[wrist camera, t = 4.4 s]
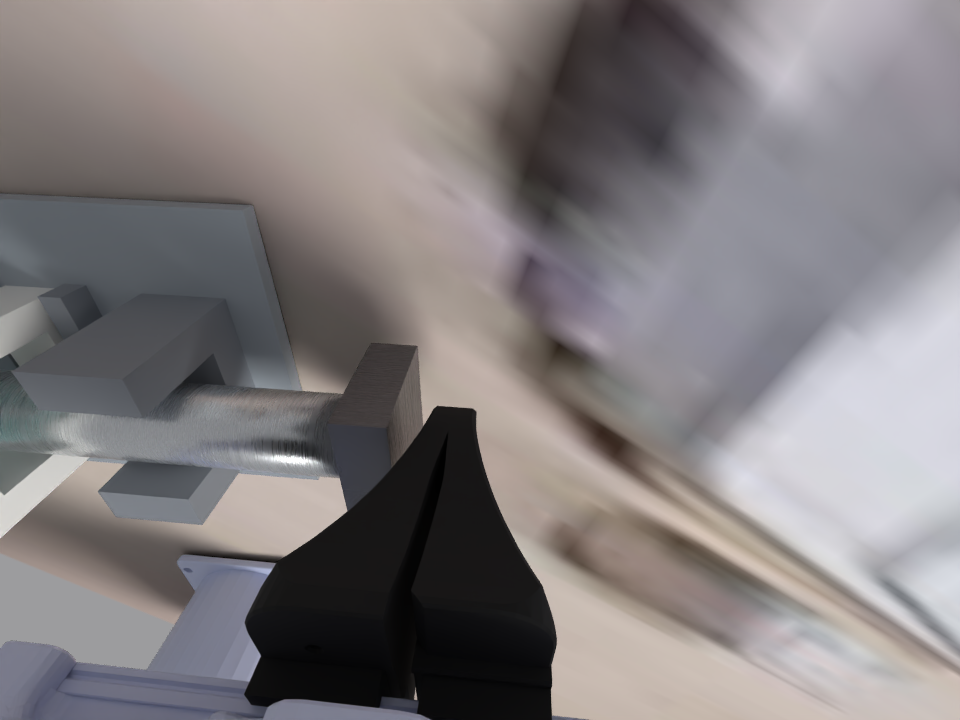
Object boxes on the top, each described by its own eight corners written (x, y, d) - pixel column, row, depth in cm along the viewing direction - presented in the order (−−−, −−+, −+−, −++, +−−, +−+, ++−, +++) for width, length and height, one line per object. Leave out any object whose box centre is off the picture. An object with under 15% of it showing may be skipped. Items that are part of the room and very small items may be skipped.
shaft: (424, 448, 17) (400, 538, 13) (40, 418, 17) (-66, 496, 14) (417, 345, 14) (386, 428, 11) (-34, 316, 15) (-184, 385, 12)
